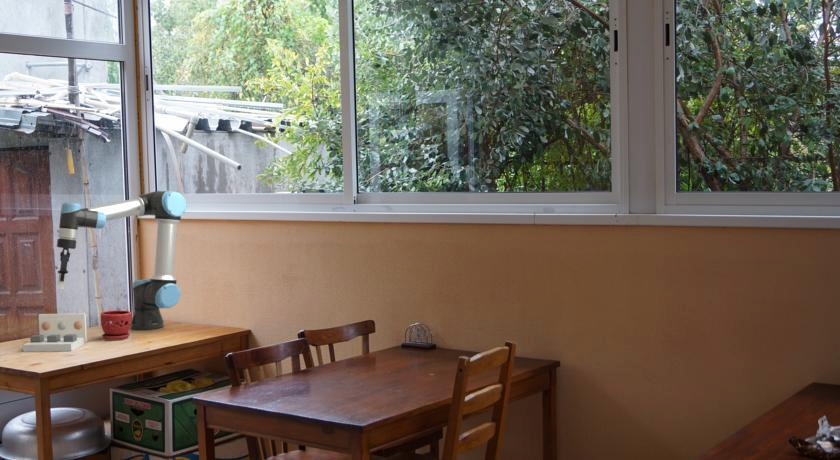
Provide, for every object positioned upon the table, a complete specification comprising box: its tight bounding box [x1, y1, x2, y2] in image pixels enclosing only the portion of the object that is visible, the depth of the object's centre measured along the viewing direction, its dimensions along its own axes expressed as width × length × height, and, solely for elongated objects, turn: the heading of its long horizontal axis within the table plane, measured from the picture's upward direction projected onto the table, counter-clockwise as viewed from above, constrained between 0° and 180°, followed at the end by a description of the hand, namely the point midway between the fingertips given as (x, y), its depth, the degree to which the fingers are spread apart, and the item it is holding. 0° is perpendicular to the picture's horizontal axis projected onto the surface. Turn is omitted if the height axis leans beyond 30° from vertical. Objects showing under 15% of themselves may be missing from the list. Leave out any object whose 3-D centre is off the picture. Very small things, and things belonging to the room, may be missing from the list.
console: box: [22, 338, 85, 353], centre depth 395 cm, size 20×14×3 cm
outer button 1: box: [63, 334, 77, 342], centre depth 395 cm, size 4×4×3 cm
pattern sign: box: [38, 312, 88, 342], centre depth 405 cm, size 20×5×13 cm, turn 89°
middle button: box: [47, 334, 60, 342], centre depth 395 cm, size 4×4×3 cm
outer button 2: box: [29, 334, 44, 343], centre depth 395 cm, size 4×4×3 cm
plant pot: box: [100, 309, 133, 341], centre depth 415 cm, size 13×13×12 cm
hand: (61, 288), depth 396 cm, fingers open, 13 cm apart
